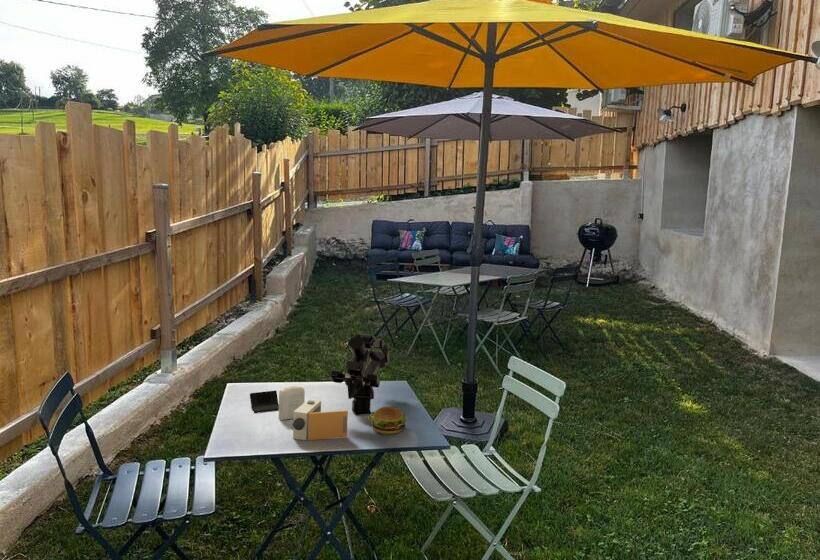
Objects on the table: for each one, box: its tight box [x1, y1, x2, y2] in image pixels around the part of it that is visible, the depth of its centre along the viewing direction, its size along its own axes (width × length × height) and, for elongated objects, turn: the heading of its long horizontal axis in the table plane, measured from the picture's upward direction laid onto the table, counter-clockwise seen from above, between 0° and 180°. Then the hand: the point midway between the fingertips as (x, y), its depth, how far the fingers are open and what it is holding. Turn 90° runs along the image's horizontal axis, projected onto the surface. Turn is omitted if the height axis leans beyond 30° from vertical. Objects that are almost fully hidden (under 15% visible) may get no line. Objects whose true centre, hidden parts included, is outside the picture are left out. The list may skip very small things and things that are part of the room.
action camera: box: [292, 398, 322, 441], centre depth 226 cm, size 16×5×11 cm, turn 167°
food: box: [367, 406, 407, 435], centre depth 233 cm, size 14×14×8 cm
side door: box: [306, 409, 349, 441], centre depth 221 cm, size 14×1×10 cm, turn 107°
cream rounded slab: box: [278, 385, 306, 421], centre depth 240 cm, size 10×4×12 cm, turn 123°
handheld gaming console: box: [249, 390, 279, 414], centre depth 250 cm, size 12×7×10 cm
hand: (349, 398), depth 233 cm, fingers closed
